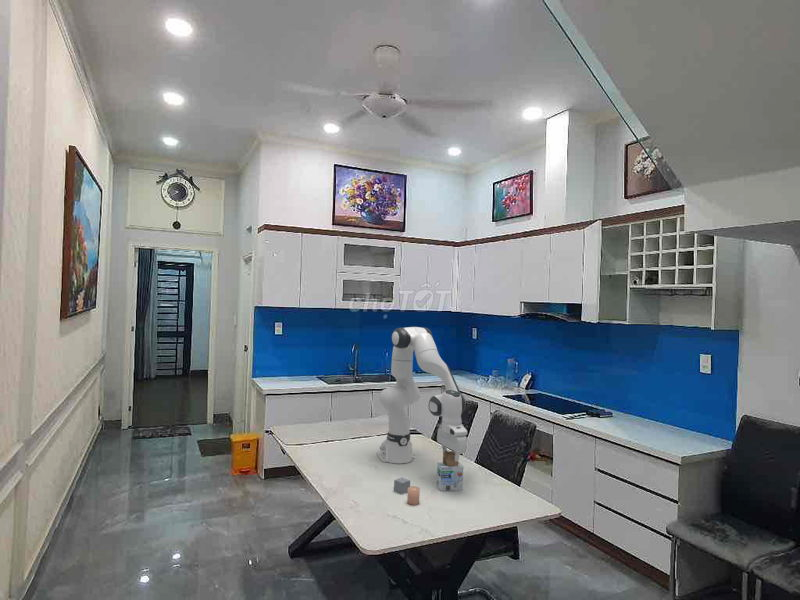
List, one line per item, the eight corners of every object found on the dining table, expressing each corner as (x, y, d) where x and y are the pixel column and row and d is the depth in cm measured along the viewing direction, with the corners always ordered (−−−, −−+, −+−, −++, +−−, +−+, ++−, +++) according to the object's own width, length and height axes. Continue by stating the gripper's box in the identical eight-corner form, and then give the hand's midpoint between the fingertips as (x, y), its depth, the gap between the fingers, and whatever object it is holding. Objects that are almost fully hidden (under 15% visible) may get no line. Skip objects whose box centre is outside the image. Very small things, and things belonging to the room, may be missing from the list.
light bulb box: (440, 491, 224) (440, 467, 224) (436, 485, 231) (436, 462, 231) (463, 490, 226) (464, 466, 226) (458, 484, 233) (459, 461, 233)
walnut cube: (442, 463, 230) (443, 452, 230) (452, 461, 232) (452, 451, 232) (448, 466, 225) (448, 455, 225) (458, 465, 227) (458, 454, 227)
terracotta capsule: (405, 501, 212) (405, 487, 212) (415, 499, 214) (416, 485, 214) (410, 506, 207) (411, 491, 207) (421, 504, 209) (421, 489, 209)
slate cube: (393, 491, 223) (394, 479, 223) (401, 488, 226) (402, 477, 226) (402, 494, 219) (402, 483, 219) (409, 491, 223) (410, 480, 223)
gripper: (434, 422, 236) (433, 451, 236) (457, 433, 218) (456, 465, 218) (445, 421, 239) (444, 450, 239) (469, 432, 221) (468, 463, 221)
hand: (450, 457), depth 228 cm, fingers open, 8 cm apart
